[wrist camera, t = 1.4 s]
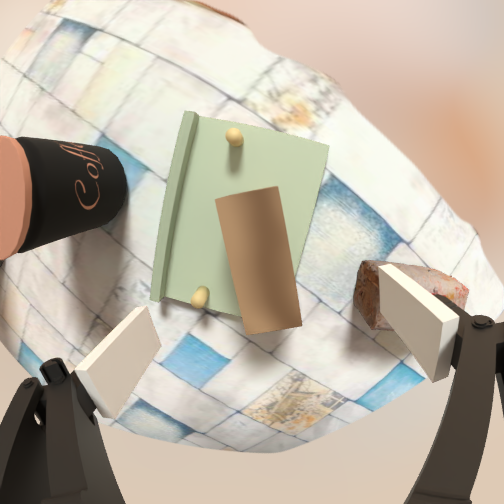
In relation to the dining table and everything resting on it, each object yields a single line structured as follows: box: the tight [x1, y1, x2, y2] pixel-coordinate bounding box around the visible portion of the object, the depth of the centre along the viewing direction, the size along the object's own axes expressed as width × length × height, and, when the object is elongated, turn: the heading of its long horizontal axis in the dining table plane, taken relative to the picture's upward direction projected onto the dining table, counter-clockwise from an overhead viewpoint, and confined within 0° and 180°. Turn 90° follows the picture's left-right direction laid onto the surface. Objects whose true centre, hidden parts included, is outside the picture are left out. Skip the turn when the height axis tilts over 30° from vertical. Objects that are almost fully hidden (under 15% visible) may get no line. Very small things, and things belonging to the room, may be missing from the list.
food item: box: [354, 260, 469, 331], centre depth 28 cm, size 14×8×10 cm, turn 83°
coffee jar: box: [0, 135, 126, 260], centre depth 23 cm, size 11×11×18 cm
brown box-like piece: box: [215, 186, 302, 335], centre depth 27 cm, size 5×12×9 cm, turn 11°
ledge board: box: [150, 111, 329, 317], centre depth 30 cm, size 16×22×4 cm
